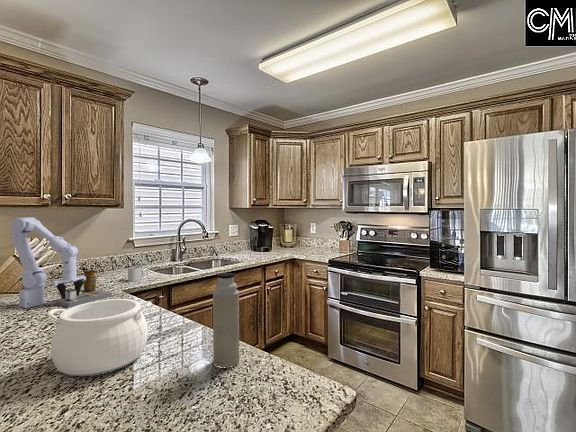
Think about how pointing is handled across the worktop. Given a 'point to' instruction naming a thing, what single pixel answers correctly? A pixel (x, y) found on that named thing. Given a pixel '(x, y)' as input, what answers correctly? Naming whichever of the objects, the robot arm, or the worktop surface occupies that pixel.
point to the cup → (135, 274)
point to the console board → (84, 298)
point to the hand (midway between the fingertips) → (70, 296)
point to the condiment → (89, 281)
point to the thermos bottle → (225, 321)
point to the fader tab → (70, 294)
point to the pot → (98, 336)
